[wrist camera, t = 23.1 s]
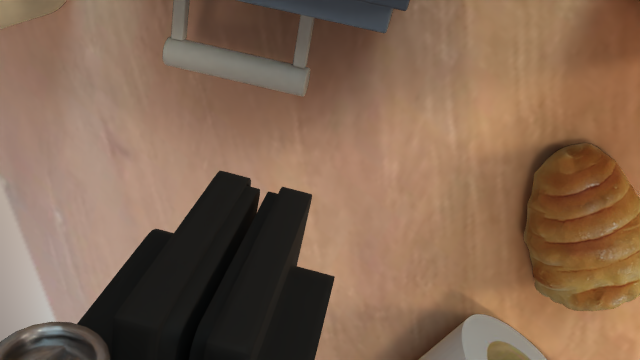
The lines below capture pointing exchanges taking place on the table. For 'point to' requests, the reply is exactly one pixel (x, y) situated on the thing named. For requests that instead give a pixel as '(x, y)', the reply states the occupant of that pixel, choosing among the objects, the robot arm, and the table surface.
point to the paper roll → (25, 10)
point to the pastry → (584, 230)
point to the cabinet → (390, 3)
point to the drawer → (323, 3)
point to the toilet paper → (483, 342)
